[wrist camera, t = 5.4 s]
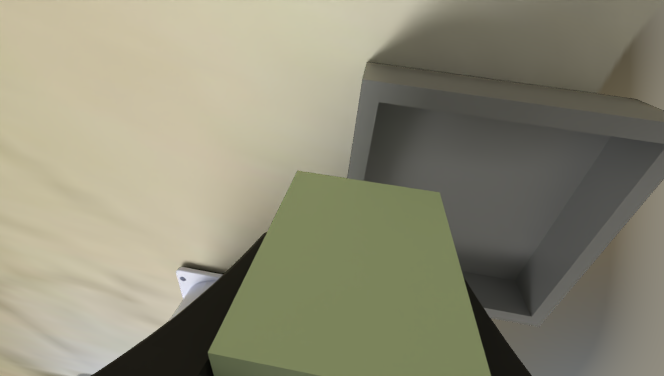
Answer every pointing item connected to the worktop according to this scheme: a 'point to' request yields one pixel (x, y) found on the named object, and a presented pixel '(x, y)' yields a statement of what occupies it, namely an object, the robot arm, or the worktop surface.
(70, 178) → the worktop surface
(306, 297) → the light green block
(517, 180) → the bin
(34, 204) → the worktop surface
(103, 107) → the worktop surface
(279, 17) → the worktop surface
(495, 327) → the robot arm
